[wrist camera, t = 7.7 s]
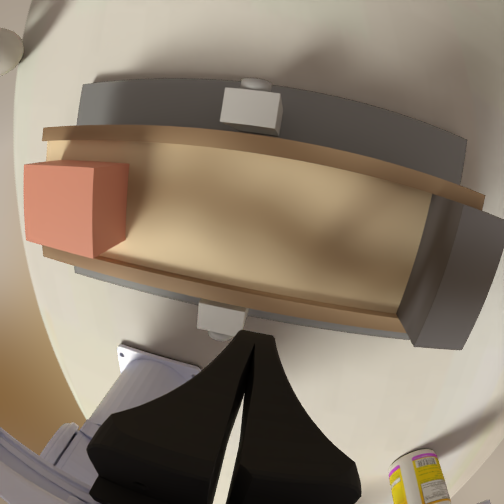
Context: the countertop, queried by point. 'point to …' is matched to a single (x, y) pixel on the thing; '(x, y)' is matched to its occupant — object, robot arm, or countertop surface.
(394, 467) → the supplement bottle
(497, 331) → the countertop surface
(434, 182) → the beam
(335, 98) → the tilt stand
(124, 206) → the block
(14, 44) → the donut
